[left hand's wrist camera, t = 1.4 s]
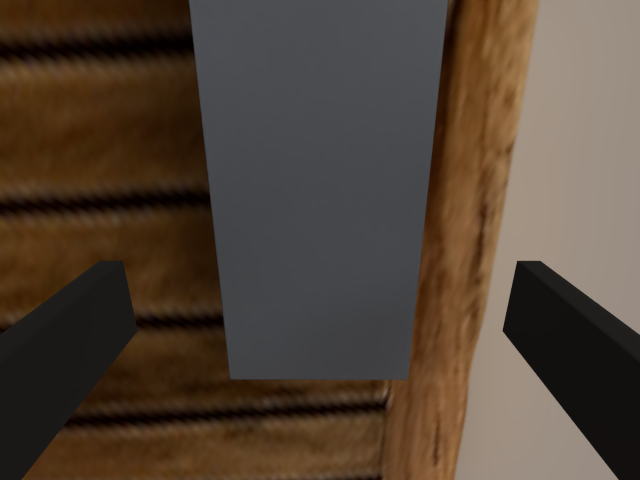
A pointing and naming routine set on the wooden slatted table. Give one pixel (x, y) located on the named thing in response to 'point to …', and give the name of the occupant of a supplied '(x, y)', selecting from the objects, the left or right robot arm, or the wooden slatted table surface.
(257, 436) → the wooden slatted table surface
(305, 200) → the long dark gray bar
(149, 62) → the wooden slatted table surface
